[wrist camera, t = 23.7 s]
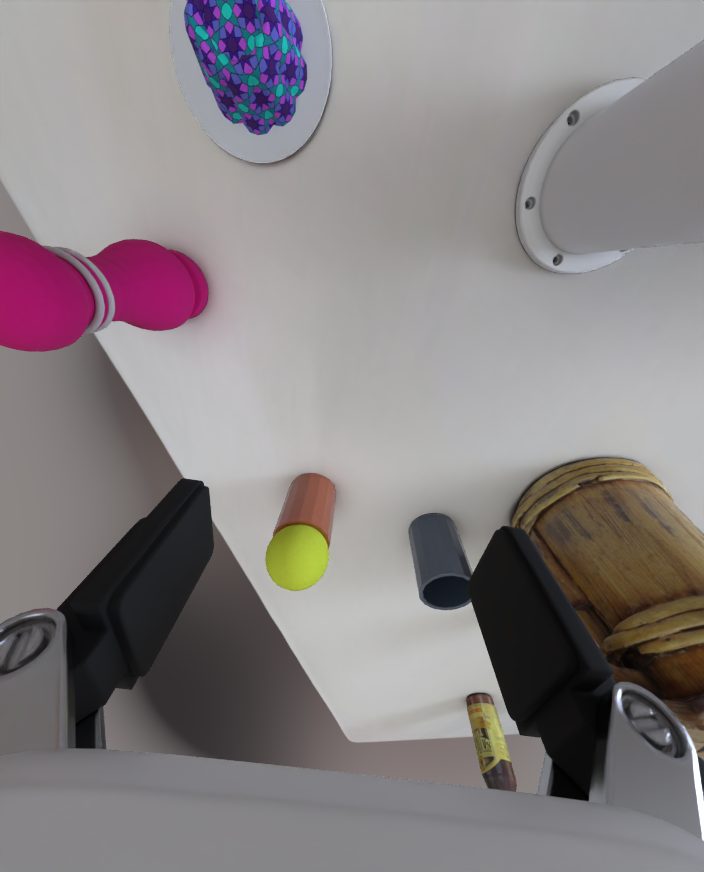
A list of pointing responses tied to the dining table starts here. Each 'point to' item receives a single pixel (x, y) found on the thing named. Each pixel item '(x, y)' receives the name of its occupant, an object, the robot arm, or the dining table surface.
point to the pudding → (253, 71)
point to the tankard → (627, 574)
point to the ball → (297, 557)
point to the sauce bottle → (490, 743)
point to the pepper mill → (92, 291)
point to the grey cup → (439, 562)
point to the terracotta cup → (309, 504)
